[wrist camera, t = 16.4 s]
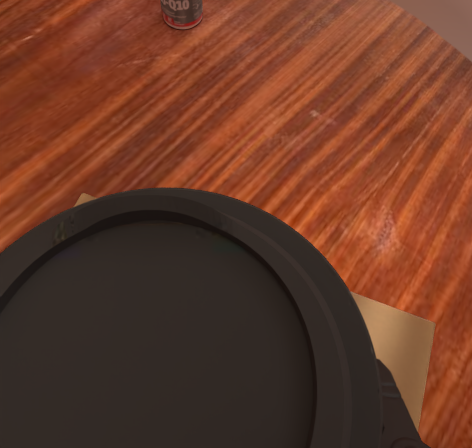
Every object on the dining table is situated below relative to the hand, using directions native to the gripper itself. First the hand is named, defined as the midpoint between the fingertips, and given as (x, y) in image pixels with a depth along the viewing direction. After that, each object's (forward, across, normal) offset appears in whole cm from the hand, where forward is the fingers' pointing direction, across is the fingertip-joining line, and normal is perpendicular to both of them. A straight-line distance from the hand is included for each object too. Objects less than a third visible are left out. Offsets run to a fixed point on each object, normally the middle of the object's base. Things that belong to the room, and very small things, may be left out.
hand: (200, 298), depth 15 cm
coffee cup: (+2, 0, -6) cm, 7 cm away
